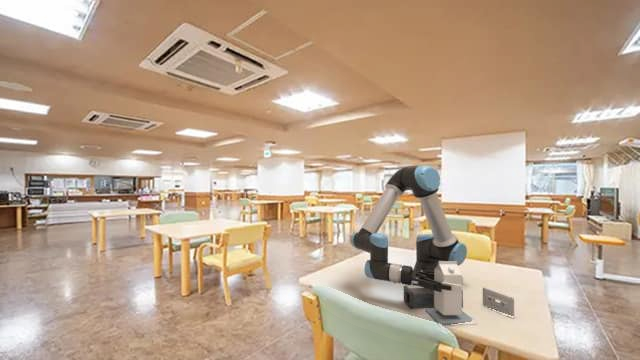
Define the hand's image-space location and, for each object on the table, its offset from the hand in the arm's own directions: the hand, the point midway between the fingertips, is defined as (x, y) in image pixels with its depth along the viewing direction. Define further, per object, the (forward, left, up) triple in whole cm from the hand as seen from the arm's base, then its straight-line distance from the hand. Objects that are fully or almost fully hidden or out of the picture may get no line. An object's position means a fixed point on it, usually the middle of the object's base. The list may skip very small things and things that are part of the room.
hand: (462, 284), depth 100 cm
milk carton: (+4, -3, -11) cm, 12 cm away
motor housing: (+5, -13, -13) cm, 19 cm away
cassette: (-18, -5, -14) cm, 24 cm away
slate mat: (+4, -2, -13) cm, 14 cm away
